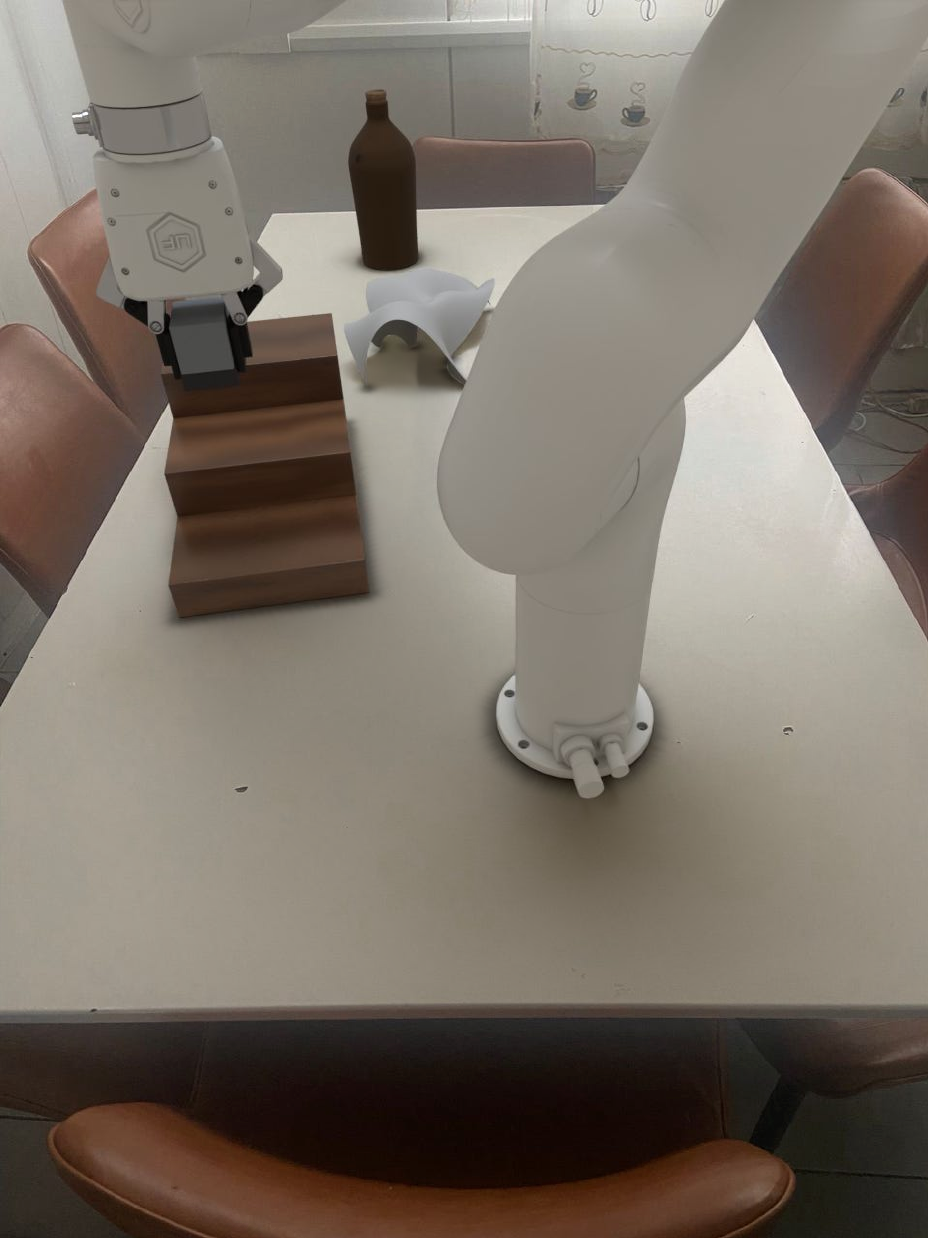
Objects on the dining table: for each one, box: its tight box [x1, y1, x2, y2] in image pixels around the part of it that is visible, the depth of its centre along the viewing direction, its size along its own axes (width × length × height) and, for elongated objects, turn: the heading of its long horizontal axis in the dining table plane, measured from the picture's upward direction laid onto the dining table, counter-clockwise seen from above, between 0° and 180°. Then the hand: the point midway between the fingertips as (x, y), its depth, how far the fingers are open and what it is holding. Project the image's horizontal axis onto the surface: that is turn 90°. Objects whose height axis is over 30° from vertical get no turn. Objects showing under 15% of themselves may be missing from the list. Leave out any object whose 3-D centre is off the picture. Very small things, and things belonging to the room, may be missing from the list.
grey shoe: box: [169, 296, 239, 392], centre depth 74 cm, size 8×4×6 cm, turn 11°
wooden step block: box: [160, 312, 370, 618], centre depth 92 cm, size 33×18×14 cm, turn 9°
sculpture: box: [343, 267, 496, 387], centre depth 122 cm, size 25×19×10 cm
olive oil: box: [347, 88, 419, 271], centre depth 142 cm, size 11×11×25 cm
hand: (210, 366), depth 74 cm, fingers closed on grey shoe, 4 cm apart
